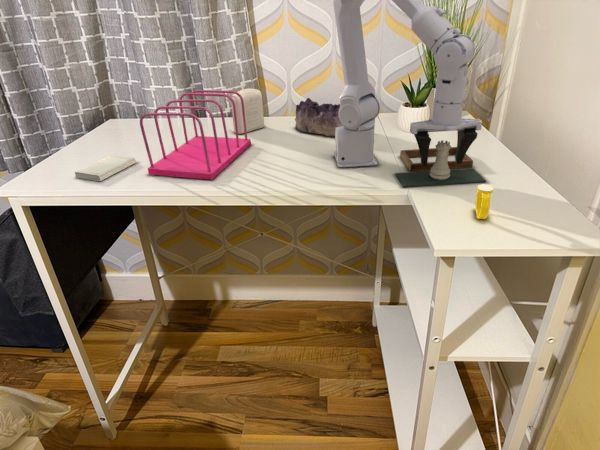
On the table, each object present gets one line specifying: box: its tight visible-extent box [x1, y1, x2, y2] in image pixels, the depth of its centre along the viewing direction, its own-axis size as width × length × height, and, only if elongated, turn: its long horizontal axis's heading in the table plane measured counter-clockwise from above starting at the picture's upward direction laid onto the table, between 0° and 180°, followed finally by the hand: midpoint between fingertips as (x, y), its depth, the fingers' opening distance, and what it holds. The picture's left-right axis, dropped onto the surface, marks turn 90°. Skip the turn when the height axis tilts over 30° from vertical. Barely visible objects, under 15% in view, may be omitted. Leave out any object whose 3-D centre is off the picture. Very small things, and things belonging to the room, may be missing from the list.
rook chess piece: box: [429, 140, 452, 180], centre depth 94 cm, size 4×4×8 cm
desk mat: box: [395, 168, 487, 188], centre depth 96 cm, size 18×7×1 cm, turn 93°
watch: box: [475, 183, 495, 220], centre depth 80 cm, size 6×3×6 cm, turn 168°
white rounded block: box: [230, 88, 265, 135], centre depth 131 cm, size 10×4×12 cm, turn 134°
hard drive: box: [74, 154, 137, 182], centre depth 110 cm, size 2×8×12 cm
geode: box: [294, 97, 343, 137], centre depth 127 cm, size 20×12×10 cm, turn 64°
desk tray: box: [399, 146, 474, 172], centre depth 104 cm, size 15×10×2 cm, turn 93°
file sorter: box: [139, 89, 252, 181], centre depth 110 cm, size 17×25×16 cm
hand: (441, 163), depth 95 cm, fingers open, 7 cm apart
